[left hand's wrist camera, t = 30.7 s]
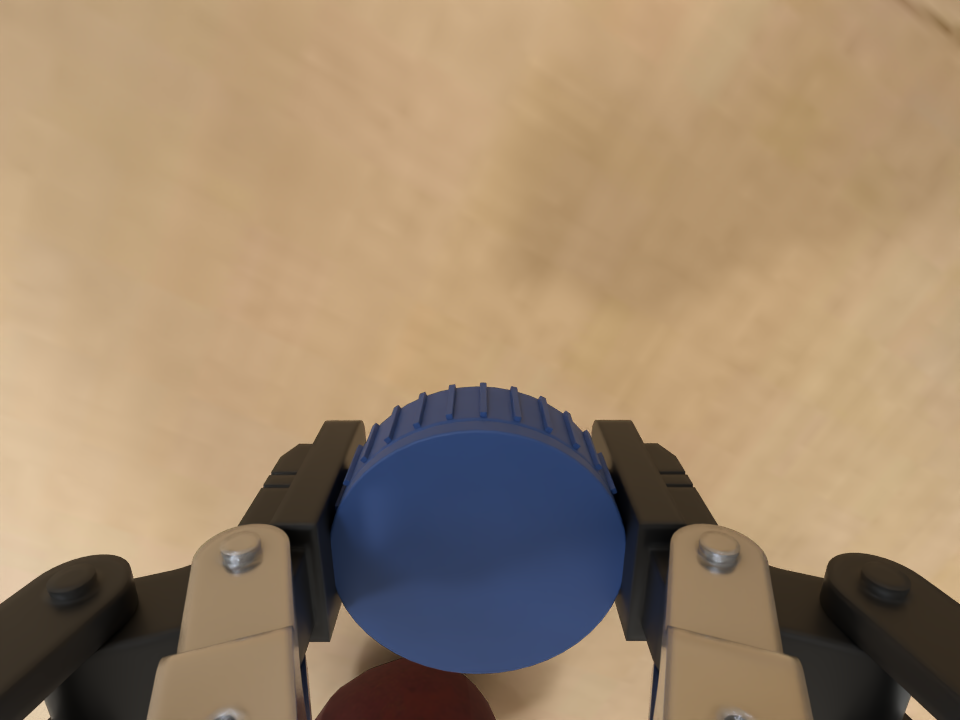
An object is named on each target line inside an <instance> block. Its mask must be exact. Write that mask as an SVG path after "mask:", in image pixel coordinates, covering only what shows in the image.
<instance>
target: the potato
mask: <svg viewBox="0 0 960 720" xmlns="http://www.w3.org/2000/svg"><path fill="white" fill-rule="evenodd" d="M315 720H495V717H494V715H493V712H492V710H491V708H490V706H489V704H488V702H487V701H486V699H485V698H484V697H483V695H482V694H481V692H480V691H479V690H478V689H477V687H476V686H475V685H474V684H473V683H472V682H471V681H470V680H469V679H468V678H467V677H465V676H464V675H463V674H461V673H457V672H450V671H443V670H439V669H435V668H431V667H427V666H424V665H421V664H418V663H416V662H413V661H410V660H408V659H406V658H401V659H398V660H395V661H392V662H389V663H386V664H383V665H380V666H377V667H374V668H371V669H369V670H367V671H366V672H364V673H363V674H361V675H359V676H358V677H356V678H355V679H353V680H352V681H350V682H349V683H347V684H345V685H344V686H342V687H341V688H340V689H339V690H338V691H337V692H336V693H335V694H334V695H333V696H332V697H331V698H330V699H329V701H328V702H327V704H326V705H325V706H324V708H323V709H322V711H321V712H320V713H319V715H318V716H317V718H316V719H315Z"/></svg>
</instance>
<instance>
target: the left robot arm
mask: <svg viewBox="0 0 960 720" xmlns="http://www.w3.org/2000/svg"><path fill="white" fill-rule="evenodd" d="M591 438H592V441H593V444H594V446H595V449H596V452H597V454H598V453H600V452H602V454H603V457H604V459H605V462H606V464H607V467H608V469H609V472H610V475H611V477H612V480H613V482H614V485H615V488H616V490H617V493H616V494H613V496H614V498H615V501H616V504H617V506H618V509H619V512H620V515H621V518H622V521H623V524H624V528H625V533H626V545H625V555H624V564H623V573H622V582H621V588H620V591H619V593H618V595H617V597H616V599H615V604H616V607H617V611H618V614H619V618H620V621H621V624H622V628H623V631H624V635H625V638H626V641H647V643H648V646H649V649H650V652H651V655H652V659H653V661H654V662H653V670H652V678H651V691H650V703H649V715H648V720H912V719H911V718H910V717H909V716H908V715H907V714H906V713H905V711H906V708H907V705H908V702H909V700H910V697H911V696H912V697H913V698H914V699H915V700H916V701H918V702H919V703H920V704H921V705H922V706H923V707H924V708H925V709H926V710H927V711H928V712H929V713H930V714H931V715H932V716H934V717H935V718H936V719H937V720H960V604H959V603H957V602H956V601H955V600H953V599H952V598H951V597H949V596H948V595H946V594H945V593H944V592H942V591H941V590H939V589H938V588H937V587H935V586H934V585H933V584H931V583H930V582H928V581H927V580H926V579H924V578H923V577H922V576H920V575H918V574H917V573H915V572H914V571H912V570H910V569H909V568H907V567H905V566H903V565H901V564H898V563H896V562H894V561H891V560H888V559H886V558H882V557H879V556H875V555H870V554H863V553H845V554H841V555H837V556H835V557H834V558H832V559H831V560H830V561H829V563H828V565H827V569H826V573H825V576H824V578H820V577H816V576H811V575H806V574H802V573H797V572H792V571H788V570H783V569H779V568H775V567H772V566H769V565H768V561H767V557H766V555H765V554H764V552H763V551H762V549H761V548H760V547H759V546H758V545H757V544H756V543H755V542H754V541H752V540H751V539H749V538H748V537H746V536H745V535H743V534H741V533H739V532H737V531H734V530H732V529H729V528H726V527H722V526H718V524H717V523H716V521H715V519H714V518H713V516H712V515H711V513H710V511H709V510H708V508H707V506H706V505H705V503H704V502H703V500H702V498H701V497H700V495H699V493H698V492H697V490H696V488H695V487H693V484H692V482H691V480H690V479H689V477H688V475H685V471H684V469H683V467H682V466H681V464H680V462H679V461H678V459H677V457H676V456H675V455H673V454H672V453H670V452H669V451H668V450H666V449H665V448H663V447H662V446H661V445H659V444H658V443H643V441H642V439H641V437H640V435H639V433H638V432H637V430H636V428H635V426H634V424H633V422H632V421H631V420H595V421H594V423H593V427H592V437H591ZM365 443H366V436H365V427H364V423H363V421H325V423H324V424H323V426H322V428H321V430H320V432H319V433H318V435H317V437H316V439H315V441H314V443H313V444H298V445H297V446H296V447H294V448H293V449H291V450H290V451H288V452H287V453H286V454H284V455H283V456H281V457H280V459H279V461H278V462H277V464H276V465H275V467H274V469H273V470H272V472H271V475H269V477H268V478H267V480H266V482H265V483H264V487H263V488H261V490H260V491H259V493H258V494H257V496H256V498H255V499H254V501H253V502H252V504H251V506H250V507H249V509H248V510H247V512H246V514H245V515H244V517H243V518H242V520H241V522H240V523H239V525H238V527H234V528H231V529H228V530H226V531H223V532H221V533H219V534H217V535H215V536H214V537H212V538H211V539H209V540H208V541H206V542H205V543H204V544H203V545H202V546H201V547H200V548H199V549H198V551H197V552H196V554H195V555H194V557H193V561H192V565H189V566H186V567H183V568H180V569H176V570H172V571H167V572H163V573H158V574H153V575H149V576H144V577H139V578H135V579H134V578H133V575H132V571H131V567H130V565H129V563H128V562H127V561H126V560H125V559H123V558H121V557H118V556H115V555H91V556H86V557H81V558H78V559H74V560H71V561H69V562H66V563H63V564H61V565H59V566H56V567H54V568H52V569H50V570H49V571H47V572H45V573H43V574H42V575H40V576H39V577H37V578H36V579H34V580H33V581H32V582H30V583H29V584H27V585H26V586H25V587H23V588H22V589H20V590H19V591H18V592H16V593H15V594H14V595H12V596H11V597H9V598H8V599H7V600H5V601H4V602H3V603H1V604H0V720H23V719H24V718H25V717H26V716H28V715H29V714H30V713H31V712H32V711H33V710H34V709H35V708H36V707H37V706H38V705H39V704H40V703H41V702H42V701H43V700H45V703H46V706H47V708H48V711H49V714H50V718H49V719H48V720H312V715H311V703H310V691H309V678H308V670H307V662H306V655H305V653H306V650H307V647H308V644H309V642H330V640H331V636H332V633H333V630H334V626H335V623H336V619H337V616H338V613H339V609H340V606H341V603H342V601H341V599H340V597H339V595H338V593H337V590H336V586H335V578H334V569H333V559H332V550H331V540H330V530H331V527H332V523H333V520H334V516H335V514H336V509H335V505H336V502H337V499H338V497H339V494H340V492H341V489H342V487H343V482H344V479H345V477H346V474H347V472H348V469H349V467H350V464H351V462H352V459H353V457H354V454H355V452H356V449H357V447H358V445H359V444H360V445H362V446H364V445H365Z"/></svg>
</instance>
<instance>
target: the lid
mask: <svg viewBox="0 0 960 720" xmlns="http://www.w3.org/2000/svg"><path fill="white" fill-rule="evenodd" d="M616 493H617V490H616V488H615V485H614V482H613V480H612V477H611V475H610V472H609V469H608V467H607V464H606V462H605V459H604V457H603V454H602V452H600V453H598V454H597V452H596V449H595V446H594V444H593V441H592V438H591V436H590V433H589V432H588V431H587V430H585V431H584V432H582V431H581V430H580V429H579V428H578V427H577V425H576V424H575V423H574V422H573V421H572V418H571V415H570V413H568V412H567V411H565V412H564V413H561V412H560V411H558V410H557V409H555V408H553V407H552V406H550V405H549V404H547V402H546V398H544V397H542V396H540V397H539V399H536V398H534V397H532V396H529V395H526V394H522V393H519V392H518V391H517V387H513V386H511V389H510V390H506V389H501V388H495V387H487V386H486V383H480V387H463V388H456V386H455V384H454V385H449V390H445V391H440V392H437V393H434V394H431V395H428V396H427V395H426V392H424V393H421V394H420V395H419V399H418V400H416V401H414V402H411V403H409V404H407V405H406V406H404V407H403V408H400V406H399V405H398V406H396V407H395V408H394V409H393V412H392V415H391V416H390V417H389V418H387V419H386V420H385V421H384V422H383V423H382V424H380V426H379V425H378V424H377V423H375V424H374V425H373V427H372V429H371V432H370V435H369V437H368V440H367V442H366V443H365V445H364V446H362V445H360V444H359V445H358V447H357V449H356V452H355V454H354V457H353V459H352V462H351V464H350V467H349V469H348V472H347V474H346V477H345V479H344V482H343V487H342V489H341V492H340V494H339V497H338V499H337V502H336V505H335V509H336V514H335V516H334V520H333V523H332V527H331V530H330V540H331V550H332V559H333V569H334V578H335V586H336V590H337V593H338V595H339V597H340V599H341V601H342V603H343V605H344V606H345V608H346V610H347V611H348V612H349V614H350V615H351V616H352V618H353V619H354V620H355V622H356V623H357V624H358V625H359V626H360V627H361V628H362V629H363V630H364V631H365V632H366V633H367V634H368V635H369V636H371V637H372V638H373V639H374V640H376V641H377V642H378V643H379V644H381V645H382V646H384V647H386V648H387V649H389V650H390V651H392V652H394V653H395V654H398V655H400V656H402V657H404V658H406V659H408V660H410V661H413V662H416V663H418V664H421V665H424V666H427V667H431V668H435V669H439V670H443V671H450V672H457V673H470V674H487V673H500V672H506V671H513V670H517V669H521V668H525V667H529V666H533V665H535V664H538V663H541V662H543V661H546V660H549V659H551V658H553V657H555V656H557V655H559V654H561V653H563V652H564V651H566V650H567V649H569V648H571V647H572V646H574V645H575V644H577V643H578V642H579V641H581V640H582V639H583V638H584V637H585V636H587V635H588V634H589V633H590V632H591V631H592V630H593V629H594V628H595V627H596V626H597V625H598V624H599V623H600V622H601V621H602V619H603V618H604V617H605V615H606V614H607V612H608V611H609V610H610V608H611V607H612V605H613V603H614V601H615V599H616V597H617V595H618V593H619V591H620V588H621V582H622V573H623V564H624V555H625V545H626V533H625V528H624V524H623V521H622V518H621V515H620V512H619V509H618V506H617V504H616V501H615V498H614V496H613V494H616Z"/></svg>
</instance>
